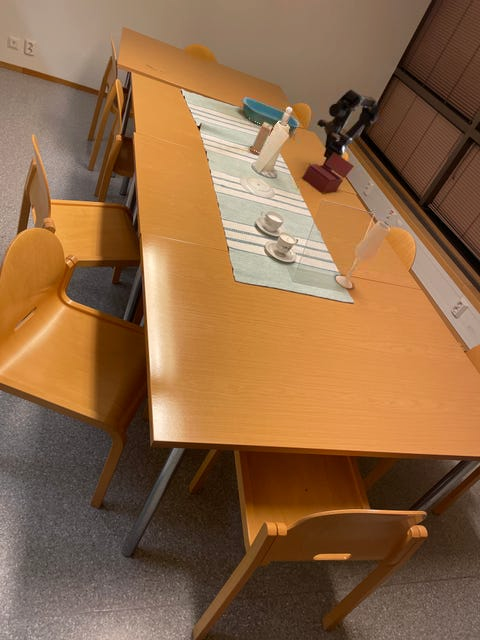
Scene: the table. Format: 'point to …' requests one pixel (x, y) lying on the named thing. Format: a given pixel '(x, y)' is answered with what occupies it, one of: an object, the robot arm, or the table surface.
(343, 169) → the flap
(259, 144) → the supplement box
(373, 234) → the champagne flute
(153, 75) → the table surface
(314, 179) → the dark red open box
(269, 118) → the casserole dish
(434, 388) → the table surface
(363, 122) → the robot arm
